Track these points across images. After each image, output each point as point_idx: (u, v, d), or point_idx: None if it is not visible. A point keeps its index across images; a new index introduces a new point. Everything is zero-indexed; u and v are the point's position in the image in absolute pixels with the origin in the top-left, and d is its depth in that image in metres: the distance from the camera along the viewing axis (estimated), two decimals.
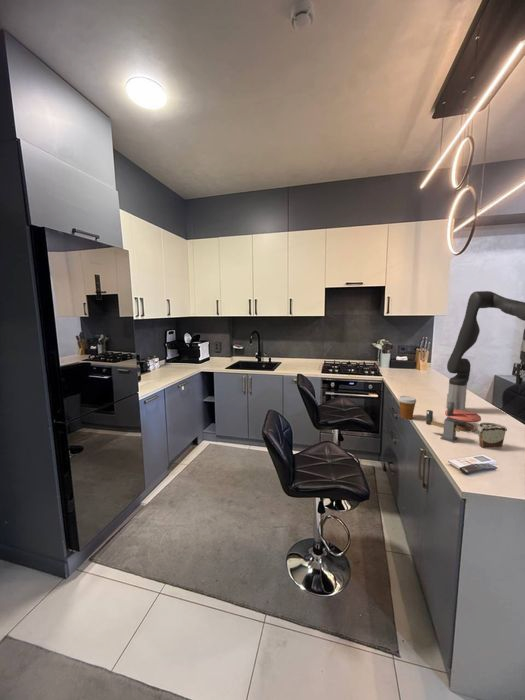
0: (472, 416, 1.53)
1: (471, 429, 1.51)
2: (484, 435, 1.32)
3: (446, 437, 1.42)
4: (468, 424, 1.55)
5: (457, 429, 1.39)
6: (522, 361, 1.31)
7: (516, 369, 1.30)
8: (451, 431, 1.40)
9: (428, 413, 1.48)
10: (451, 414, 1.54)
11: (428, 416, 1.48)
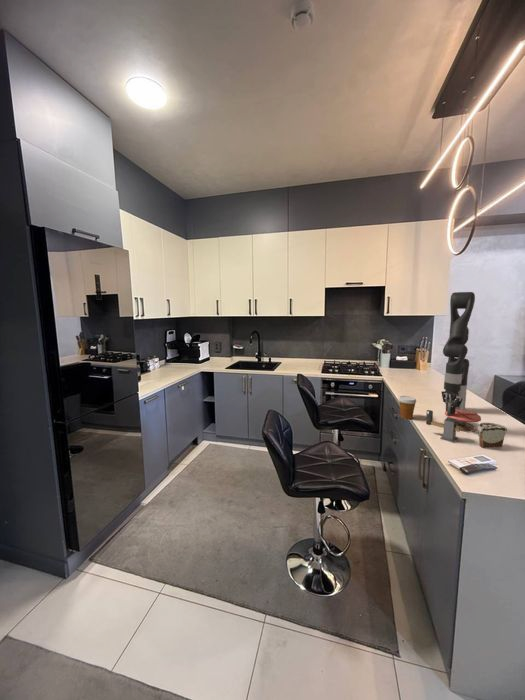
0: (472, 416, 1.53)
1: (471, 429, 1.51)
2: (484, 435, 1.32)
3: (446, 437, 1.42)
4: (468, 424, 1.55)
5: (457, 429, 1.39)
6: (456, 392, 1.49)
7: (459, 403, 1.48)
8: (451, 431, 1.40)
9: (428, 413, 1.48)
10: (451, 414, 1.54)
11: (428, 416, 1.48)
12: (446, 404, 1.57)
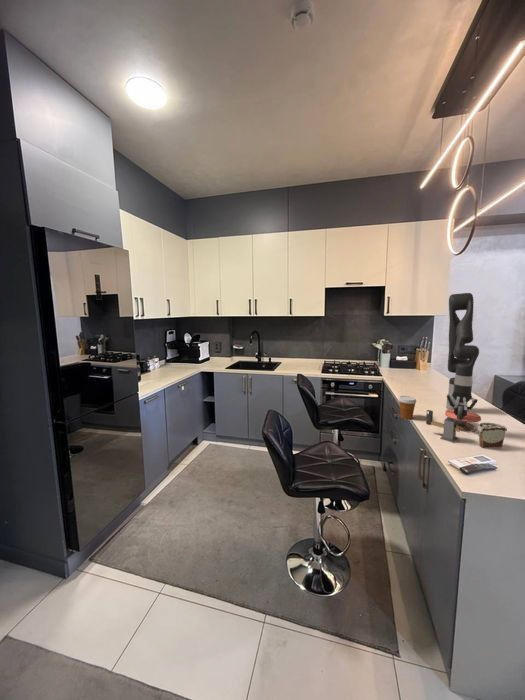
0: (470, 414, 1.56)
1: (471, 429, 1.51)
2: (484, 435, 1.32)
3: (446, 437, 1.42)
4: (468, 424, 1.55)
5: (457, 429, 1.39)
6: None
7: (474, 404, 1.46)
8: (451, 431, 1.40)
9: (428, 413, 1.48)
10: (463, 417, 1.49)
11: (428, 416, 1.48)
12: (455, 408, 1.51)
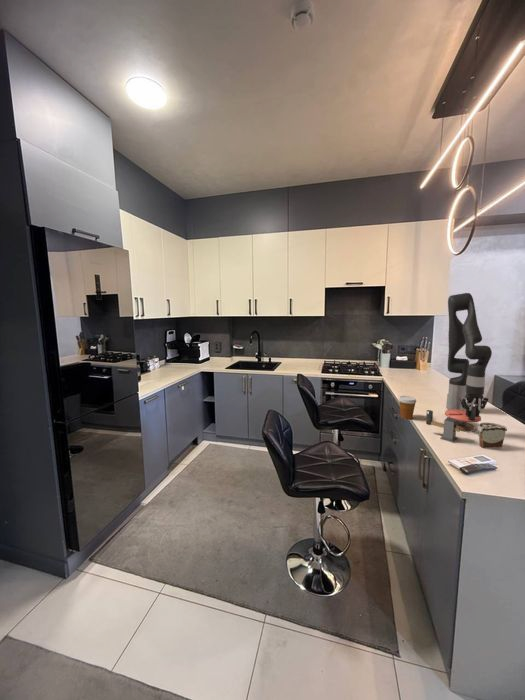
0: (464, 412, 1.58)
1: (471, 429, 1.51)
2: (484, 435, 1.32)
3: (446, 437, 1.42)
4: (468, 424, 1.55)
5: (457, 429, 1.39)
6: None
7: None
8: (451, 431, 1.40)
9: (428, 413, 1.48)
10: None
11: (428, 416, 1.48)
12: (468, 410, 1.47)
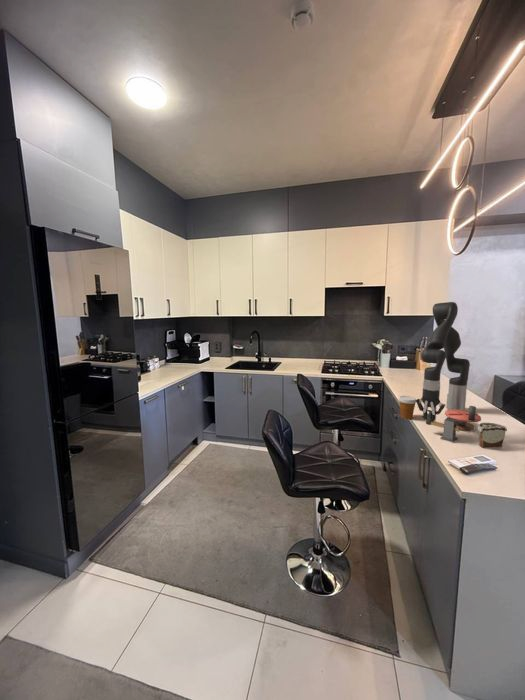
0: (464, 412, 1.58)
1: (471, 429, 1.51)
2: (484, 435, 1.32)
3: (446, 437, 1.42)
4: (468, 424, 1.55)
5: (457, 429, 1.39)
6: (438, 399, 1.44)
7: (442, 409, 1.44)
8: (451, 431, 1.40)
9: (428, 413, 1.48)
10: None
11: (428, 416, 1.48)
12: (424, 412, 1.50)
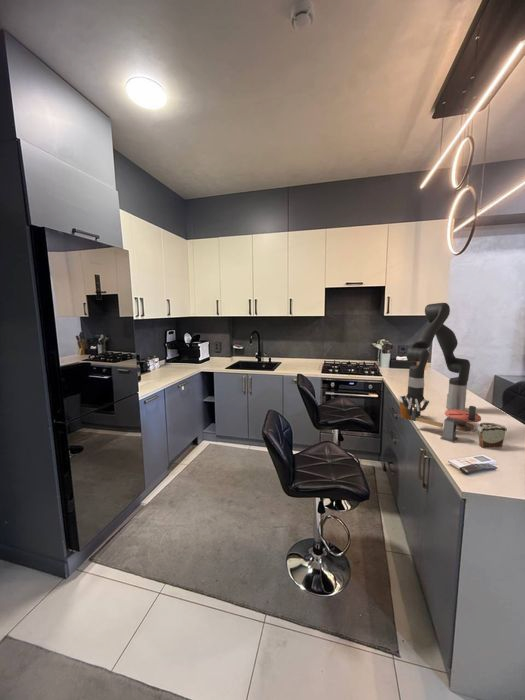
0: (464, 412, 1.58)
1: (471, 429, 1.51)
2: (484, 435, 1.32)
3: (446, 437, 1.42)
4: (468, 424, 1.55)
5: (440, 425, 1.45)
6: (422, 396, 1.50)
7: (426, 405, 1.50)
8: (451, 431, 1.40)
9: (413, 409, 1.53)
10: None
11: (413, 412, 1.53)
12: (408, 409, 1.55)
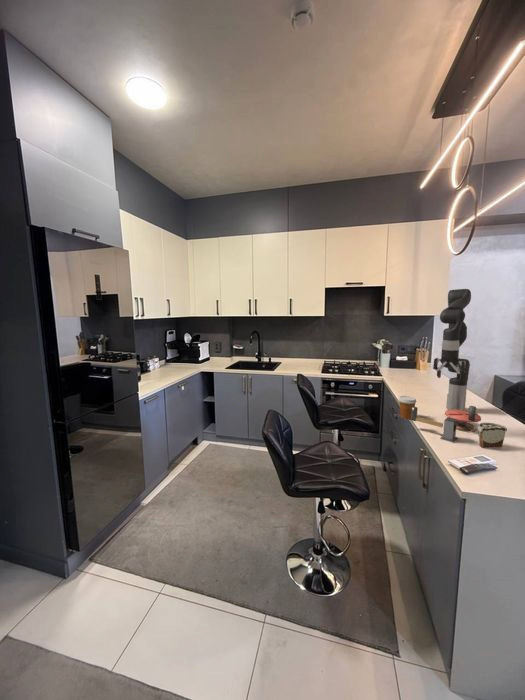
0: (464, 412, 1.58)
1: (471, 429, 1.51)
2: (484, 435, 1.32)
3: (446, 437, 1.42)
4: (468, 424, 1.55)
5: (440, 425, 1.45)
6: (458, 359, 1.46)
7: (465, 366, 1.45)
8: (451, 431, 1.40)
9: (413, 409, 1.53)
10: None
11: (413, 412, 1.53)
12: (437, 371, 1.54)
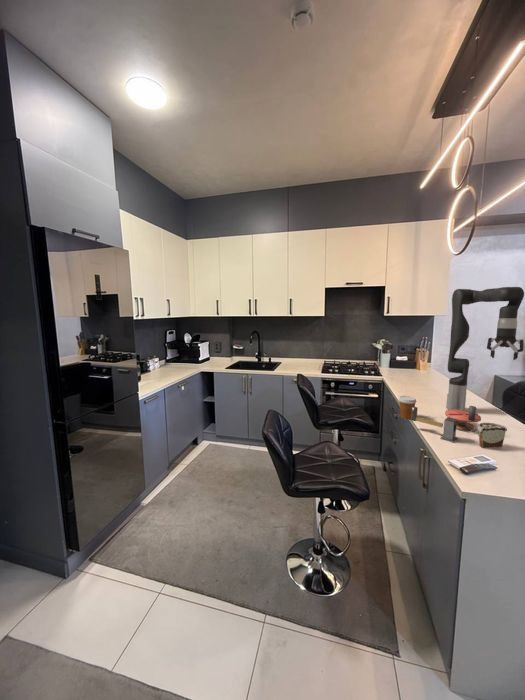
0: (464, 412, 1.58)
1: (471, 429, 1.51)
2: (484, 435, 1.32)
3: (446, 437, 1.42)
4: (468, 424, 1.55)
5: (440, 425, 1.45)
6: (515, 337, 1.43)
7: (523, 345, 1.42)
8: (451, 431, 1.40)
9: (413, 409, 1.53)
10: None
11: (413, 412, 1.53)
12: (491, 350, 1.50)
